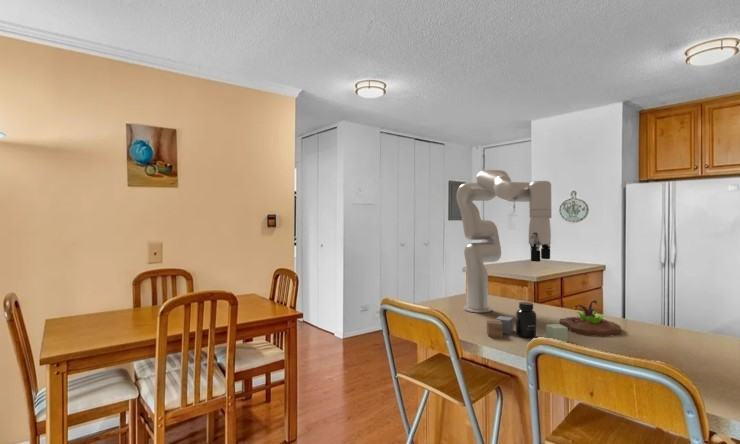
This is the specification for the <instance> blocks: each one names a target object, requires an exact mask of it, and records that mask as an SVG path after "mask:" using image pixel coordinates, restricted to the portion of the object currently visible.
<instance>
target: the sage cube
mask: <svg viewBox="0 0 740 444" xmlns="http://www.w3.org/2000/svg"><path fill="white" fill-rule="evenodd" d="M568 333H569V330H568V328H567V327H565V326H563V325H561V324H559V323H551V324H548V323H547V324H546V325H545V338H546V337H547V338H553V339H557V340H561V341H566V342H565V343H568V342H569V335H568ZM547 338H546V339H547Z"/></svg>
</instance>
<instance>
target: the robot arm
mask: <svg viewBox="0 0 740 444" xmlns="http://www.w3.org/2000/svg"><path fill="white" fill-rule="evenodd" d="M475 180H476V181H475V182H466V183H462V184H461V185H459V186H458V189H457V191H456V202H457V203H456V204H457V206H458V208H459V211H460V215H461V221H462V228H463V232H464V237H465V238H466V239H467V240H469V241H479V242H471V243H469V244H467V245H466V246H465V247H464V250H463V252H464V254H463V255H464V260H465V266H466V267H465V268H466V305H463V310H464V311H466V312H471V313H480V314H481V313H483V314H484V313H489V312H492V307H491V306H489V292H488V291H489V290H488V289H489V287H488V286H489V285H488V284H489V281H488V278H489V277H488V271H487V268H486V266H485V263H495V262H496V263H497V262H498V261H499V260H500V259H501V256H502V246H501V243H500V236H499V230H498V227H497V224H496V223H494V221H492V220H491V219H490V220H488V219H486V220H485V219H484V220H483V219H481V215H480V211H479V208H478V207H477V205H476V204H475V203H474V202H473V201H475V202H478V201H480V202H481V201H483V202H485V201H486V202H488V201H491V200H493V199H494V198H496V197H497V198H499V199H502V200H504V201H507V202H513V203H514V202H519V203H520V202H523V203H525V202H526V203H529V205H528V206H529V224H528V244H529V246H530V262H541V260H550V259H551V237H552V234H551V233H552V231H551V229H552V228H551V219H552V217H553V216H552V183H551V182H550V181H549V180H535V181H534V180H533V181H532V182H528V181H526V182H524V181H523V182H522V181H517V182H516V181H512V180H511V177H510V176H509V174H508V173H507V172H506V171H505V170H501V169H483V170H481V171H479V172H478V173H477V175H476V177H475ZM480 241H482V242H480ZM483 241H484V242H483Z"/></svg>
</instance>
